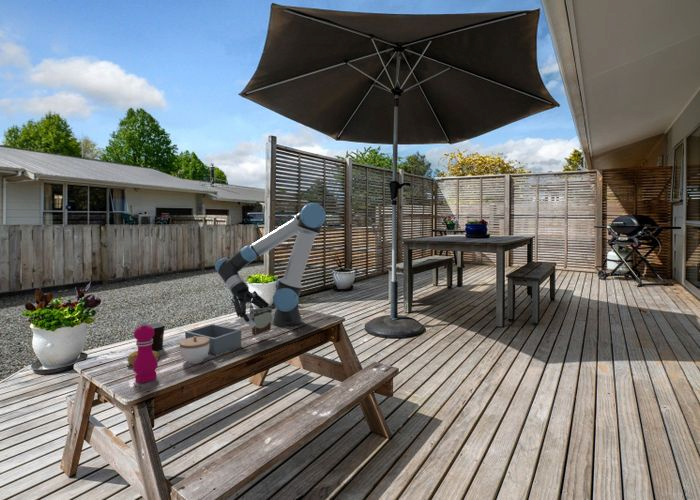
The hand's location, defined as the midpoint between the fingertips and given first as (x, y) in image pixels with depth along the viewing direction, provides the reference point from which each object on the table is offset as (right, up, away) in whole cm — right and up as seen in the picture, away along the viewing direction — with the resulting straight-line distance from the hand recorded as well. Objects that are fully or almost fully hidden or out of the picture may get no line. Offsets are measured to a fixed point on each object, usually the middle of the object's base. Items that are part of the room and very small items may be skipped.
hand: (263, 323), depth 164 cm
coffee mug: (-43, -8, -10) cm, 45 cm away
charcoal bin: (-19, -8, -9) cm, 23 cm away
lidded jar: (-20, -10, -24) cm, 33 cm away
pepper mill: (-30, -11, -41) cm, 52 cm away
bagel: (-39, -10, -25) cm, 48 cm away
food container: (-2, -4, +1) cm, 5 cm away
